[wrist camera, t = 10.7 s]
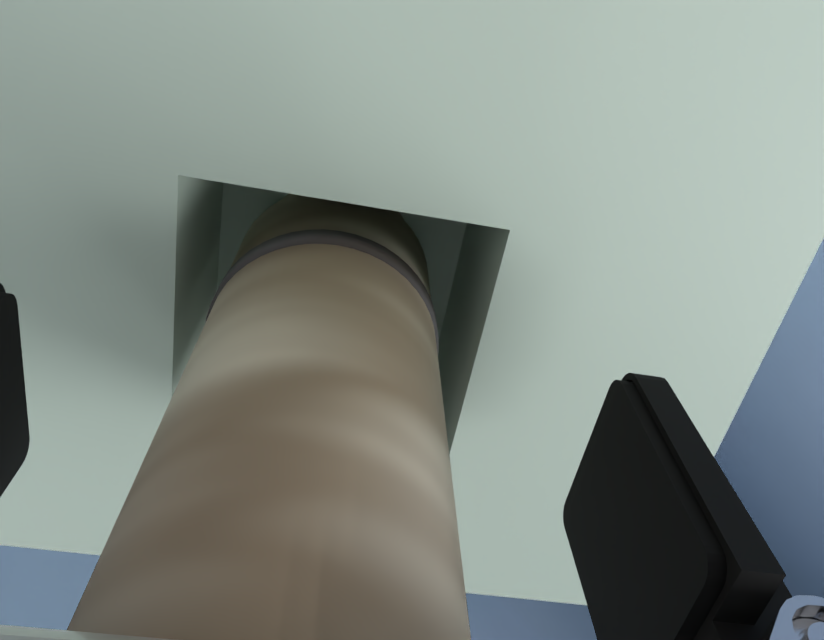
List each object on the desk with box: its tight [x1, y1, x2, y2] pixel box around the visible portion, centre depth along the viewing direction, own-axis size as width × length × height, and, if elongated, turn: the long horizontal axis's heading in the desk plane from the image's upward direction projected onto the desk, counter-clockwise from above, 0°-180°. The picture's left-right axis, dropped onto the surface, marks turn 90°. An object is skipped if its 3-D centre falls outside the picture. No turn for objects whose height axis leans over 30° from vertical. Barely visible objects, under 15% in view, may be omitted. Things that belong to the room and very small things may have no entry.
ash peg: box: [67, 194, 471, 640], centre depth 10 cm, size 4×4×14 cm
